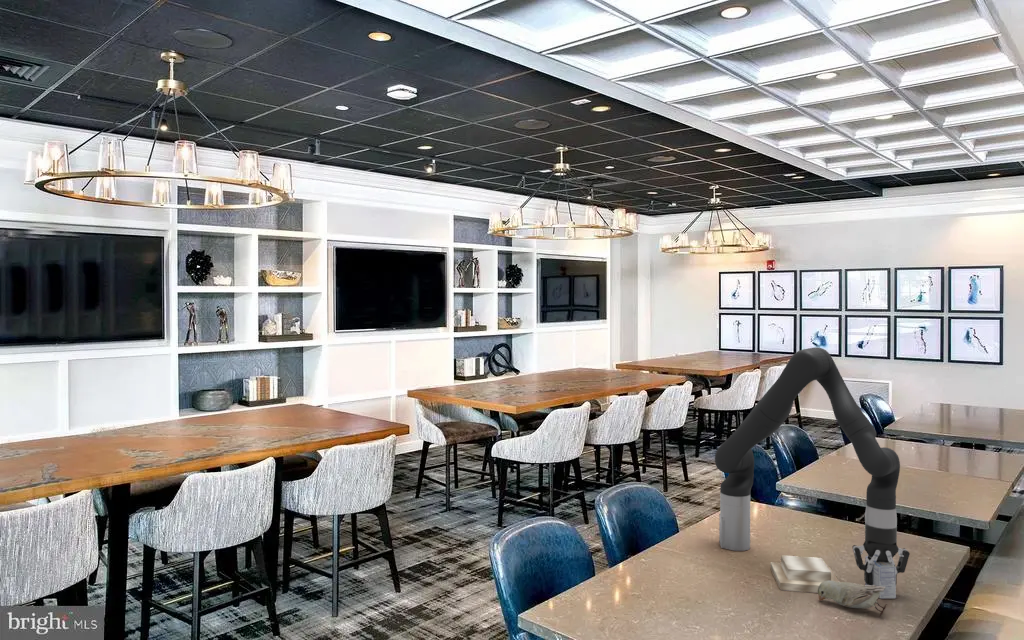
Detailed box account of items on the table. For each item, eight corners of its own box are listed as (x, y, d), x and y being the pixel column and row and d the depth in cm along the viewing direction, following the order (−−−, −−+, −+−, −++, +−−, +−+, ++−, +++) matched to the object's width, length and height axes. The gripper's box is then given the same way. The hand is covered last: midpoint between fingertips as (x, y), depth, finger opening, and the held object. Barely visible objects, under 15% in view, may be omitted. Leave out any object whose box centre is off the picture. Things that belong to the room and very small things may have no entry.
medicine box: (896, 599, 183) (896, 566, 183) (879, 599, 183) (879, 566, 183) (881, 587, 191) (881, 555, 191) (864, 587, 191) (864, 555, 191)
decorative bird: (820, 597, 185) (820, 569, 185) (888, 613, 175) (888, 583, 175) (815, 604, 181) (815, 575, 181) (884, 621, 171) (884, 590, 171)
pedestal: (780, 590, 189) (780, 571, 189) (770, 568, 205) (770, 551, 205) (843, 594, 186) (843, 576, 186) (828, 572, 202) (828, 555, 202)
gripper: (856, 525, 185) (855, 589, 185) (915, 529, 182) (914, 593, 182) (848, 517, 192) (847, 578, 192) (905, 520, 189) (904, 582, 189)
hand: (880, 585), depth 187 cm, fingers closed on medicine box, 5 cm apart
